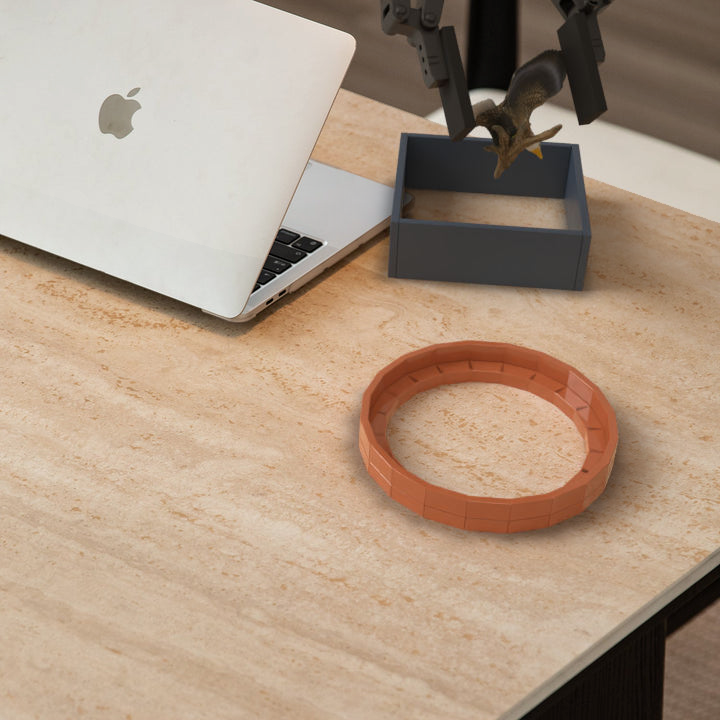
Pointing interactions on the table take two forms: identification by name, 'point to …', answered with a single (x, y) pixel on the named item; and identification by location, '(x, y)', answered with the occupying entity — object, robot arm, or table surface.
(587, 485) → the faceted orange ring
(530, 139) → the eagle figurine
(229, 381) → the table surface
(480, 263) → the bin
